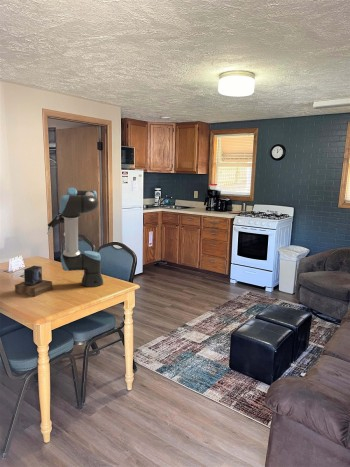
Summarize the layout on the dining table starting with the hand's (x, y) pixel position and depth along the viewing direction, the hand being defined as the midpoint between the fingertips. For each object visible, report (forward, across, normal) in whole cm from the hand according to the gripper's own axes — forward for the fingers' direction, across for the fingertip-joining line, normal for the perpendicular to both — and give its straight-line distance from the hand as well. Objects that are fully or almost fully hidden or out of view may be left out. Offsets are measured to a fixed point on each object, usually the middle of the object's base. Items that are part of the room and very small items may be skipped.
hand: (56, 235), depth 248 cm
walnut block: (+44, -2, -3) cm, 44 cm away
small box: (+40, -2, +2) cm, 40 cm away
